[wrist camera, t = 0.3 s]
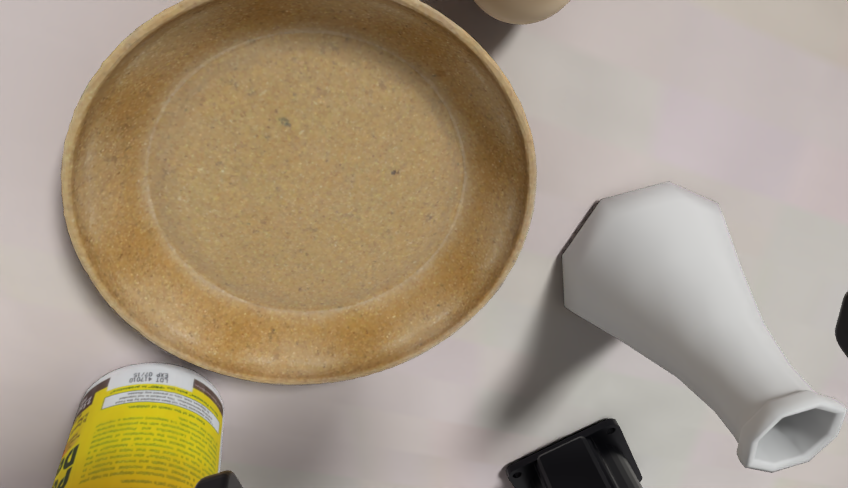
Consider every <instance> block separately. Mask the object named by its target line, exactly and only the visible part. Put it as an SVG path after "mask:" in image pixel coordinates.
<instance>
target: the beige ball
mask: <svg viewBox="0 0 848 488" xmlns="http://www.w3.org/2000/svg"><path fill="white" fill-rule="evenodd" d="M474 1H475V3H476V4H477V5H478V6H479V7H480V8H481V9H482V10H483V11H484V12H485V13H487V14H488V15H490V16H492V17H493V18H495V19H497V20H500V21H502V22H506V23H510V24H530V23H535V22H539V21H542V20H544V19H547V18H549V17H551V16H552V15H554V14H555V13H557V12H558V11H560V10H561V9H562V8H563V7H564V6H565V5H566V4H567V3H568V2H569V1H570V0H474Z"/></svg>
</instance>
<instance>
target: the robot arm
mask: <svg viewBox="0 0 848 488" xmlns="http://www.w3.org/2000/svg"><path fill="white" fill-rule="evenodd" d="M835 336H836V340H837V342H838V344H839V346H840V348H841V349H842V351H843V352H844V353H845V355H846V356H847V357H848V292H847V293H846V294H845V296H844V298H843V302H842V305H841V309H840V313H839V317H838V320H837V324H836V328H835ZM506 473H507V475H508V478H509V480H510V481H511V483H512V484H513V486H514V487H515V488H642V486H641V484H640V481H641V480H642V476H641V473H640V471H639V469H638V467H637V464H636V462H635V460H634V458H633V456H632V453H631V451H630V449H629V447H628V444H627V442H626V440H625V438H624V435H623V433H622V431H621V429H620V427H619V425H618V423H617V421H616V420H615V419H607V420H604V421H602V422H600V423H598V424H596V425H594V426H592V427H589V428H587V429H585V430H583V431H581V432H579V433H577V434H575V435H573V436H570V437H568V438H566V439H564V440H562V441H560V442H558V443H556V444H554V445H551V446H549V447H547V448H545V449H543V450H541V451H539V452H537V453H535V454H532V455H530V456H528V457H526V458H524V459H522V460H520V461H518V462H516V463H513V464H511V465H510V466H508V468H507V469H506ZM195 488H243V487H242V485H241V484H240V482H239V480H238V479H237V477H236V476H235V474H234V473H233V472H231V471H223V472H219V473H216V474H212V475H209V476H206V477H204V478H202V479H201V480H200V481H199V482H198V483H197V484H196V486H195Z"/></svg>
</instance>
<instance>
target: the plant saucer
mask: <svg viewBox="0 0 848 488" xmlns="http://www.w3.org/2000/svg"><path fill="white" fill-rule="evenodd" d="M536 177H537V167H536V155H535V150H534V144H533V139H532V135H531V131H530V128H529V125H528V122H527V119H526V115H525V113H524V110H523V108H522V105H521V103H520V101H519V99H518V97H517V96H516V94H515V92H514V90H513V88H512V86H511V84H510V82H509V81H508V79H507V78H506V76H505V75H504V74H503V72H502V71H501V69H500V68H499V67H498V65H497V64H496V62H495V61H494V60H493V59H492V58H491V57H490V56H489V54H488V53H487V52H486V51H485V50H484V49H483V48H482V47H481V46H480V44H479V43H478V42H477V41H476V40H475V39H473V38H472V37H471V36H470V35H469V34H468V33H467V32H466V31H465V30H464V29H462V28H461V27H460V26H458V25H457V24H456V23H454V22H453V21H451V20H450V19H449V18H447V17H446V16H444V15H443V14H441V13H440V12H439V11H437V10H435V9H434V8H432V7H430V6H429V5H427V4H425V3H423V2H421V1H419V0H183V1H181V2H179V3H177V4H176V5H174V6H172V7H170V8H167V9H165V10H164V11H162V12H161V13H159V14H157V15H155V16H154V17H153V18H152V19H151V20H149V21H147V22H146V23H144V24H143V25H141V26H140V27H138V28H137V29H136V30H135V31H134V32H133V33H131V34H130V35H129V36H128V37H127V38H126V39H124V40H123V41H122V42H121V43H120V44H119V45H118V46H117V48H116V49H115V50H114V51H113V52H112V53H111V54H110V56H109V57H108V58H107V59H106V60H105V61H104V62H103V63H102V65H101V67H100V69H99V70H98V71H97V73H96V74H95V75H94V76H93V78H92V79H91V81H90V82H89V84H88V85H87V87H86V89H85V91H84V93H83V94H82V96H81V98H80V100H79V103H78V105H77V107H76V108H75V110H74V114H73V117H72V120H71V123H70V125H69V131H68V133H67V136H66V139H65V143H64V153H63V158H62V169H61V181H62V200H63V208H64V217H65V220H66V224H67V229H68V233H69V236H70V239H71V242H72V244H73V247H74V249H75V251H76V254H77V256H78V258H79V260H80V262H81V264H82V266H83V268H84V270H85V271H86V272H87V274H88V275H89V277H90V279H91V281H92V283H93V284H94V286H95V287H96V288H97V290H98V291H99V293H100V294H101V295H102V296H103V298H104V299H105V300H106V302H107V303H108V304H109V305H110V306H111V307H112V308H113V309H114V310H115V311H116V312H117V314H118V315H119V316H120V317H121V318H122V319H123V320H124V321H126V322H127V323H128V324H129V325H130V326H131V327H133V328H134V329H136V330H137V331H138V332H139V333H140V334H141V335H143V336H144V337H145V338H147V339H148V340H149V341H151V342H152V343H154V344H155V345H157V346H158V347H160V348H162V349H163V350H165V351H168V352H169V353H170V354H173V355H175V356H177V357H178V358H180V359H182V360H185V361H187V362H189V363H192V364H194V365H196V366H199V367H201V368H204V369H206V370H210V371H213V372H217V373H219V374H223V375H227V376H231V377H235V378H239V379H243V380H249V381H253V382H260V383H269V384H280V385H301V384H322V383H333V382H339V381H345V380H351V379H355V378H358V377H364V376H367V375H370V374H373V373H376V372H380V371H383V370H385V369H389V368H392V367H395V366H397V365H399V364H401V363H404V362H406V361H408V360H411V359H413V358H415V357H417V356H419V355H421V354H423V353H424V352H426V351H428V350H430V349H431V348H433V347H434V346H436V345H438V344H439V343H440V342H442V341H443V340H445V339H447V338H448V337H450V336H451V335H452V334H454V333H455V332H456V331H458V330H459V329H460V328H461V327H462V326H463V325H465V324H466V323H467V322H468V321H470V320H471V318H472V317H473V316H474V315H475V314H476V313H477V312H478V311H479V310H481V309H482V308H483V307H484V306H485V305H486V304H487V302H488V301H489V300H490V299H491V298H492V297H493V295H494V294H495V293H496V292H497V291H498V289H499V288H500V287H501V285H502V284H503V282H504V281H505V279H506V277H507V275H508V274H509V272H510V270H511V269H512V267H513V266H514V264H515V262H516V260H517V258H518V256H519V254H520V252H521V250H522V248H523V245H524V242H525V239H526V235H527V233H528V231H529V226H530V223H531V219H532V215H533V211H534V204H535V195H536Z"/></svg>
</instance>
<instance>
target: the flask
mask: <svg viewBox="0 0 848 488" xmlns="http://www.w3.org/2000/svg"><path fill="white" fill-rule="evenodd" d="M562 264H563V286H564V307H566V308H567V309H569V310H571V311H572V312H574V313H575V314H577V315H578V316H580V317H582V318H583V319H585V320H587V321H588V322H590V323H592V324H593V325H595V326H597V327H598V328H600V329H602V330H604V331H605V332H607V333H609V334H610V335H612V336H614V337H615V338H617V339H619V340H620V341H622V342H624V343H625V344H627V345H628V346H630V347H631V348H633V349H634V350H636V351H637V352H639V353H640V354H642V355H644V356H645V357H647V358H648V359H650V360H651V361H653V362H654V363H656V364H657V365H659V366H660V367H662V368H663V369H665V370H667V371H668V372H670V373H671V374H673V375H674V376H676V377H677V378H678V379H679V380H681V381H682V382H683V383H684V384H685V385H686V386H687V387H688V388H689V389H690V390H692V391H693V392H694V393H695V394H696V395H697V396H698V397H699V398H700V399H701V400H703V401H704V402H705V403H706V404H707V405H708V406H709V407H710V408H711V409H713V410H714V411H715V413H716V414H717V415H718V416H719V418H720V419H721V420H722V422H723V423H724V424H725V425H726V427H727V428H728V429H729V430H730V432H731V433H732V434H733V436H734V437H735V439H736V440H737V442H738V448H737V455H738V458H739V460H740V462H741V463H742V465H743V466H744V467H745V468H750V469H755V470H760V471H766V472H771V473H772V472H775V471H779V470H782V469H785V468H789V467H792V466H795V465H799V464H802V463H805V462H809V461H810V460H811V459H812V458H813V457H814V456H815V455H816V454H818V453H819V452H820V451H821V450H822V449H823V448H824V447H825V446H827V445H828V444H829V443H830V442H831V441H832V440H833V439H834V438H835V437H837V436H838V434H839V431H840V428H841V425H842V423H843V420H844V417H845V415H846V412H847V408H846V407H845V406H844V405H843V404H842V403H841V402H840V401H838V400H836V399H835V398H832V397H829V396H825V395H822V394H819V393H817V392H816V391H815V390H814V389H813V388H812V387H811V386H810V385H809V384H808V383H807V382H806V381H805V380H804V379H803V377H802V376H801V375H800V374H799V373H798V372H797V371H796V370H795V369H794V368H793V367H792V366H791V364H790V363H789V361H788V360H787V358H786V356H785V355H784V353H783V352H782V350H781V349H780V347H779V346H778V344H777V342H776V341H775V339H774V338H773V336H772V335H771V333H770V332H769V330H768V328H767V327H766V325H765V324H764V321H763V319H762V317H761V314H760V312H759V309H758V307H757V304H756V302H755V299H754V297H753V294H752V292H751V289H750V287H749V284H748V282H747V280H746V277H745V275H744V272H743V270H742V267H741V265H740V262H739V259H738V256H737V253H736V250H735V247H734V244H733V242H732V239H731V236H730V233H729V230H728V227H727V224H726V221H725V219H724V216H723V214H722V211H721V209H720V206H719V204H718V203H717V202H715V201H713V200H710V199H708V198H706V197H704V196H701V195H699V194H697V193H695V192H692V191H690V190H688V189H686V188H683V187H681V186H679V185H677V184H674V183H672V182H670V181H669V182H665V183H661V184H657V185H653V186H650V187H646V188H642V189H638V190H634V191H631V192H627V193H623V194H619V195H615V196H611V197H608V198H604V199H601V200H600V202H599V203H598V205H597V206H596V208H595V209H594V210H593V212H592V213H591V215H590V216H589V218H588V219H587V221H586V222H585V223H584V225H583V226H582V228H581V229H580V231H579V232H578V234H577V235H576V236H575V238H574V239H573V241H572V242H571V244H570V245H569V246H568V248H567V249H566V251H565V252H564V254H563V255H562Z"/></svg>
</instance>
